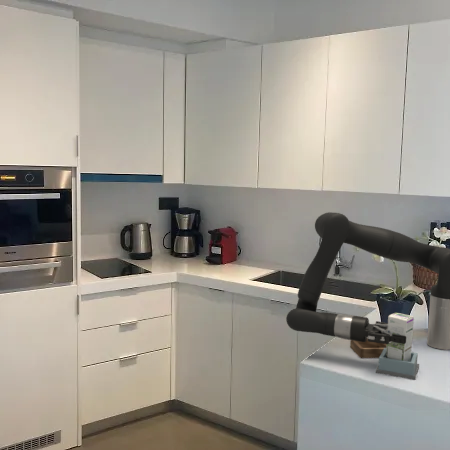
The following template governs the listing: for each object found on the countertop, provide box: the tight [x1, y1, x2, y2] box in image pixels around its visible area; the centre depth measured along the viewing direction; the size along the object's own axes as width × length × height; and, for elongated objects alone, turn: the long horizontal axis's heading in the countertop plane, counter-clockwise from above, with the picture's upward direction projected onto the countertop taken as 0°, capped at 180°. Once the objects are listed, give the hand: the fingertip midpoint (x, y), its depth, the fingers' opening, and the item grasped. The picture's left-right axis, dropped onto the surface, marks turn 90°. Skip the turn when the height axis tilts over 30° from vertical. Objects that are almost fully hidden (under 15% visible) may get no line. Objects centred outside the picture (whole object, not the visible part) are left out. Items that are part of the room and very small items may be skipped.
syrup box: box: [386, 312, 415, 362], centre depth 163 cm, size 6×6×14 cm
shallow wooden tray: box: [349, 337, 387, 359], centre depth 179 cm, size 10×10×3 cm
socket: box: [375, 348, 420, 381], centre depth 164 cm, size 11×11×4 cm
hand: (407, 336), depth 162 cm, fingers closed on syrup box, 7 cm apart
